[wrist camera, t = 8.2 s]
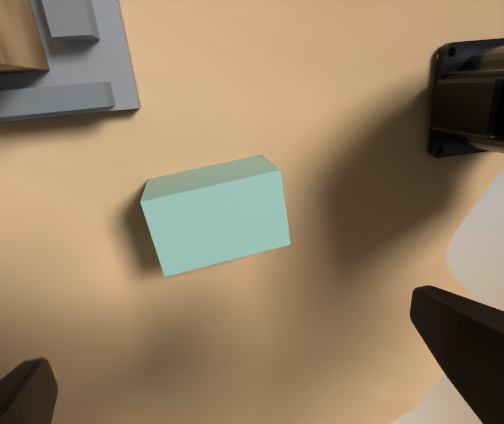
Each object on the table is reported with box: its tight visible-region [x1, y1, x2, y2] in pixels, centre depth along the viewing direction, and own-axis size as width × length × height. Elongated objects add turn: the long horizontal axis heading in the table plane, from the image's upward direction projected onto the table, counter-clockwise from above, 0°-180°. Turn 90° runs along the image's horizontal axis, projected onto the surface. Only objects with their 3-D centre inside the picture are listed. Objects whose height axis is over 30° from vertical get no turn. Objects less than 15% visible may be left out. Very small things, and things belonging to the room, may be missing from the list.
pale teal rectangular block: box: [140, 155, 291, 277], centre depth 17 cm, size 6×4×4 cm, turn 100°
